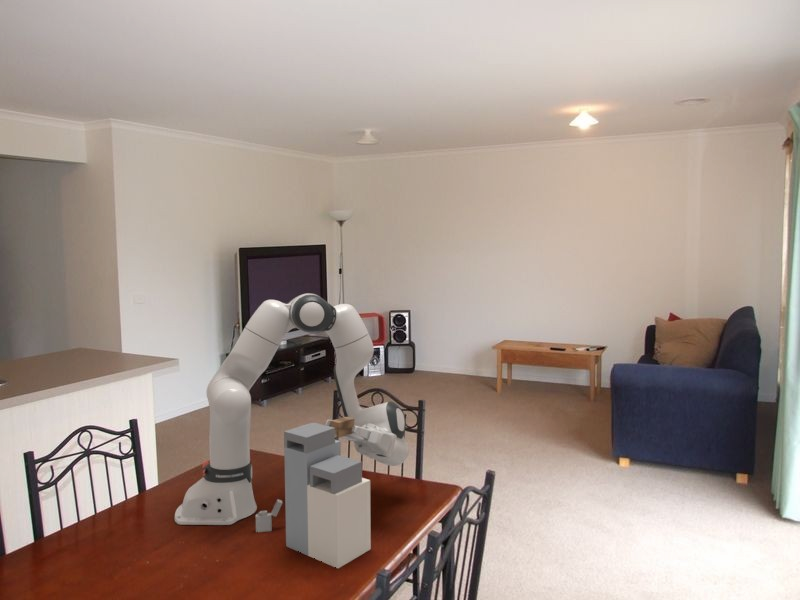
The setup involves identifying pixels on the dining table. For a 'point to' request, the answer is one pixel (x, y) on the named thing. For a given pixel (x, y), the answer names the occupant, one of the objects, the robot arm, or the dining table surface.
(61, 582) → the dining table surface
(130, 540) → the dining table surface
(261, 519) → the lighter
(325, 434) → the stand
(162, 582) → the dining table surface
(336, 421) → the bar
